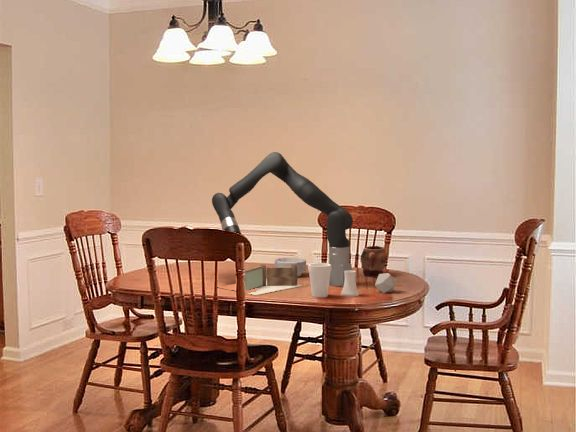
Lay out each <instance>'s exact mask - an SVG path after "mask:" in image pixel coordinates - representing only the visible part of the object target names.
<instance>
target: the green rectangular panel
mask: <svg viewBox="0 0 576 432" xmlns="http://www.w3.org/2000/svg"><path fill="white" fill-rule="evenodd" d="M244 270H245V275H244V274H243V276H244V277H243V278H244V280H243V282H244V283H245V291H247V290H250V289H254V288H257V287H260V286H263V266H261V265H259V266H255V267H251V268H248V269H244Z"/></svg>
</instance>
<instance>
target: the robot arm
mask: <svg viewBox="0 0 576 432" xmlns="http://www.w3.org/2000/svg"><path fill="white" fill-rule="evenodd" d="M269 173H270V174H271V175H274V176H275V177H277V179H279V180H281V181H282V182H283V183H285V184H286V185H287V186H288V187H289V188H290V190H291V191H292V192H293V193H294V194H295V195H296V196H297V198H299V199H300V200H301V201H302V202H303V203H304V204H306V205H308V206H309V207H312V208H313V209H315V210H317V211H320V212H321V213H323V214H324V215H326V216H327V218H326V238H327V242H328V264H331V272H330V280H329V286H334V287H344V282H345V274H344V271H346V270H352V268H353V267H352V263H350V262H351V261H350V260H351V258H350V256H351V255H350V254H351V252H350V251H351V250H350V249H351V246H350V244H351V243H350V239H348V238H347V233H346V230H350V229H351V227H352V226H353V224H354V219H353V216H352V214H351V213H350V212H349V211H348V210H347V209H345V208H343V207H342V206H341V205H339V204H338V203H337V202H335V201H334V200H332V198H330V197H329V196H328V195H327V194H326V193H325V192H324V191H323V190H322V189H320V188H319V187H318V186H317V185H316V184H315V183H314V182H313V181H311V180H310V179H309V178H307V177H306V176H304V175H301V174H300V173H298V172H297V171H296V170H295V169H294V168H293V167H292V166H291V165H290V164H289V162H288V161H287V160H286V158H285V157H284V156H283V155H282V154H281V153H279V152H278V151H272V152H270V153H269V154H268V155H266V156H265V157H264V158H263V160H262V161H260V162H259V163H258V165H256V166H255V167H254V168H253V169H252V170H251V171H249V173H248V174H246V175H245V176H244V177H242V178H241V179H240V180H238V181H237V182H235V183H234V184H233V185H231V186H230V187H229V188H228V191H229V195H227V196H226V195H225V194H224V193H222V192H217V193H215V194H214V195H212V197H211V198H212V199H211V203H212V204H211V205H212V206H213V207H212V208H213V209H214V211H215V213H216V214H217V216H218V219H219V221H220V223H219V224H220V225H221V226H220V227H221V230H225V231H231V232H236V233H239V234H241V235H242V232H241V229H240V226H239V224H238V222H237V219H236V217H235V214H234V212H233V210H232V209H233V207H235V205H236V204H237V203H238V202H239V200H240V199H242V198H243V197H245V196H246V195H247V194H249V193H250V192H251V191H252V190H253V189H254V188H255V187H256V185H257V184H258V183H259V182H260V180H261V179H263V178H264V177H265V176H267V175H268V174H269Z"/></svg>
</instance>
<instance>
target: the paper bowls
mask: <svg viewBox="0 0 576 432" xmlns="http://www.w3.org/2000/svg"><path fill="white" fill-rule="evenodd" d="M293 264H296V265H297V278H298V277H301V276H302V274H303V272H305V271H306V270H307V259H304V258H301V257H279V258H274V267H292V265H293Z"/></svg>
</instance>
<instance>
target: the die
mask: <svg viewBox="0 0 576 432" xmlns="http://www.w3.org/2000/svg"><path fill="white" fill-rule="evenodd" d="M397 282H398V280H397V279H395V277H393V276H392V275H391V274H390V273H388V272H386V273H385V272H383V274H379V276H378V277H377V279H376V281H375V284H374V287H376V288H377V289H379V291H380V292H382V293H383V294H388V293H393V291H394V290H395V287H396V284H397Z"/></svg>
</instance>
